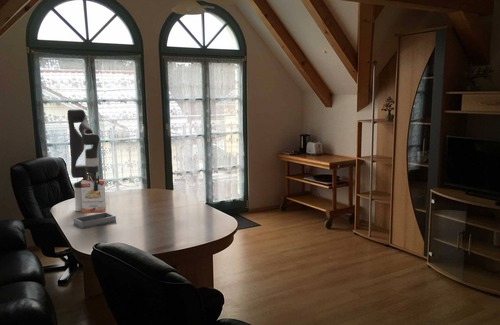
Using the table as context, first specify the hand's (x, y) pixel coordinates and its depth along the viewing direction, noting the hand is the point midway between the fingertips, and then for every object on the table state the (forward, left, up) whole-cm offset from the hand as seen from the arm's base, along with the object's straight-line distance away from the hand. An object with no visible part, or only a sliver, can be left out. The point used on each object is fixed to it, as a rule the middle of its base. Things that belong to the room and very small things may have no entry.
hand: (93, 190), depth 267 cm
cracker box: (0, 0, -15) cm, 15 cm away
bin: (0, 0, -22) cm, 22 cm away
